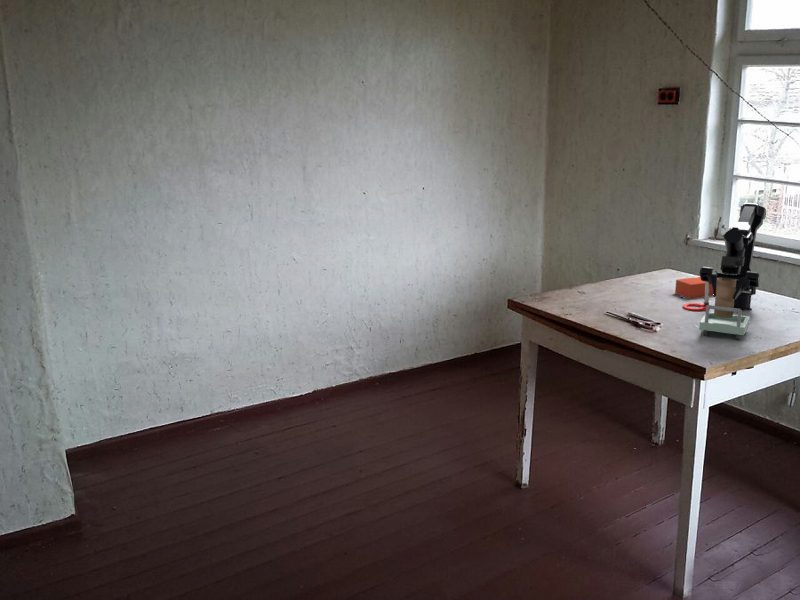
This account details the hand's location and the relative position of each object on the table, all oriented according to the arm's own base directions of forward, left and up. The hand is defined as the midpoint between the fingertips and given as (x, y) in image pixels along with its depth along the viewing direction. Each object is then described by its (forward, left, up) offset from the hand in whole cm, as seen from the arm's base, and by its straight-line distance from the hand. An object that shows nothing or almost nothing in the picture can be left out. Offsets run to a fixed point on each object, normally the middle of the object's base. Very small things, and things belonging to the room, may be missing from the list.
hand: (724, 297), depth 256 cm
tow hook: (-5, -31, -13) cm, 34 cm away
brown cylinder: (-1, -1, -7) cm, 7 cm away
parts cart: (-1, -1, -13) cm, 13 cm away
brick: (-17, -50, -13) cm, 55 cm away
